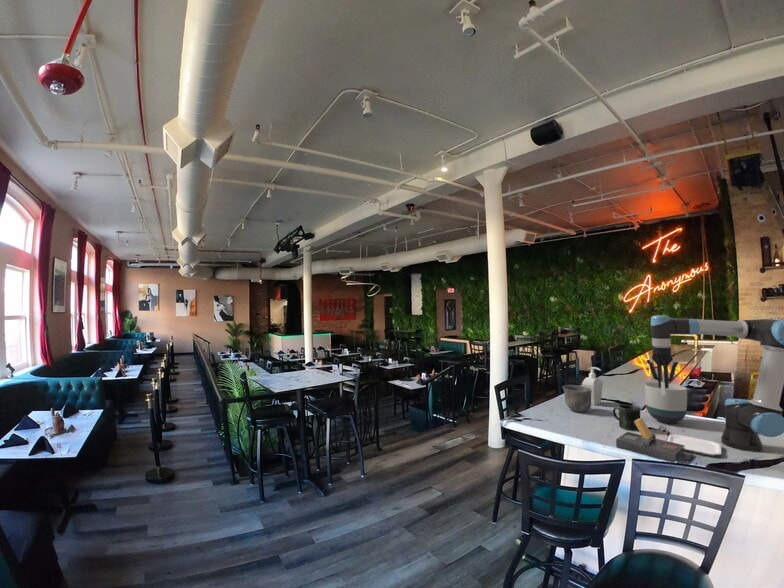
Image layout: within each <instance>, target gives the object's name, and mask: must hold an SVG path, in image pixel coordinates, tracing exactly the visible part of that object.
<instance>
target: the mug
mask: <svg viewBox="0 0 784 588" xmlns="http://www.w3.org/2000/svg"><path fill="white" fill-rule="evenodd" d="M616 410H617V411H618V416H617V413H616ZM641 410H642V408H641V407H639V406H637V405H633V404H617V407H614V408H613V409H612V414H613V417H614V418H615V419H616V420H617V421H618V426H619V428H621V429H623V430H626V431H627V430H628V431H634V432H637V431H639V430H638V428H637V426H636V424H635V423H634V421H635V420H637V419H640V418H641Z"/></svg>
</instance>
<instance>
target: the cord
mask: <svg viewBox="0 0 784 588" xmlns="http://www.w3.org/2000/svg"><path fill="white" fill-rule="evenodd" d="M693 457H694V453H691V454H689V455H688V457H687V458H686V459H685V462H686V461H688V462H687V463H689V462H690V461H691V460H692V459H693Z"/></svg>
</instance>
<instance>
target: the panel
mask: <svg viewBox="0 0 784 588" xmlns="http://www.w3.org/2000/svg"><path fill="white" fill-rule="evenodd" d="M651 434H652V437H654V439H653V440H652V441H651V442H650V441H649V439H646V438H643V437H642V435H641V434H638V433H633V432H630V431H626V432H625V433H623V434H622V435H620V436H619V437H617V438H616V441H615V443H616V444H615V445H616V448H617V447H618V448H617V449H620V450H624V449H625V451H629V452H632V453H635V454H639V455H644V456H647V457H651V458H655V459H657V460H661V461H666V462H669V461H670V462H669V463H672V462H675V461H677V460H678V461H680V459H682V457H683V456H684V455H686V451H685V445H681V444H677V443H673V442H668V441H667V440H664V439H659V438H657V434H656V433H653V432H651Z"/></svg>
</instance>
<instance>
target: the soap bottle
mask: <svg viewBox="0 0 784 588" xmlns="http://www.w3.org/2000/svg"><path fill="white" fill-rule="evenodd" d="M588 369H589V370H590V373H588V377H585V378H584V380H582V383H581V386H584V387H587V388H590V389H592V391H591V406H598V405H601V403H602V394H603V385H604V382H603V381H602V380H601V379H600V378H599V377H596V375H597V374H596V373H595V370H598V371H602V369H600V368H599V367H596V366H595V367H594V366H591V367H587V370H588Z"/></svg>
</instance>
